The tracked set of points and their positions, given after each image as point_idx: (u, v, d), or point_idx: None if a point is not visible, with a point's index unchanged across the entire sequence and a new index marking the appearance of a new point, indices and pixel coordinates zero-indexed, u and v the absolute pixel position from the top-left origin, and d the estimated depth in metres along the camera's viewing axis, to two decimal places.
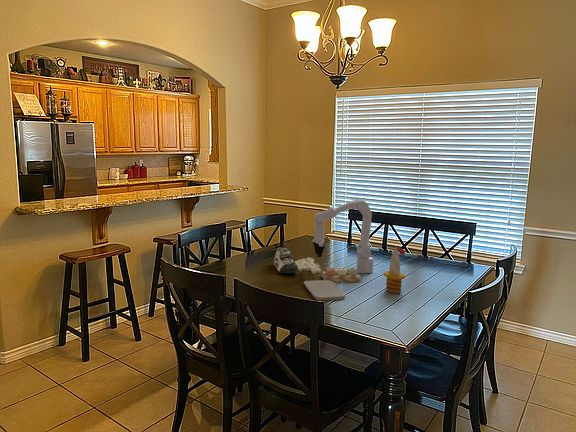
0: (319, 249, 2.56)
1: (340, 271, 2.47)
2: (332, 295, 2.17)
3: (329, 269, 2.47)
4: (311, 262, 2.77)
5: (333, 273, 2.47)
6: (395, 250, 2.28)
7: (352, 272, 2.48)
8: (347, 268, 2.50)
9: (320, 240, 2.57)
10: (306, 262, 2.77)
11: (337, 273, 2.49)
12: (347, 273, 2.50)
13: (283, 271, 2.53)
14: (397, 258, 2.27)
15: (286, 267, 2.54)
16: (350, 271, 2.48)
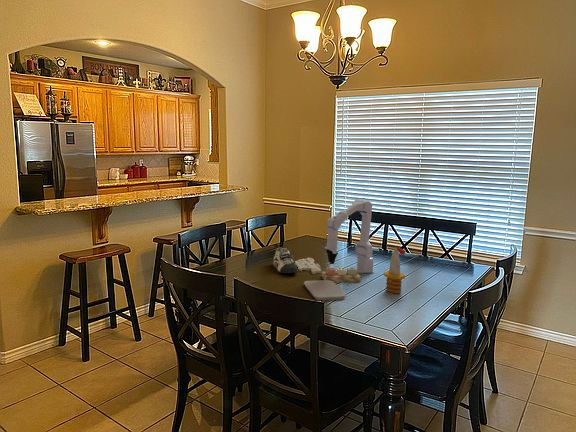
0: (332, 256, 2.45)
1: (340, 271, 2.47)
2: (332, 295, 2.17)
3: (329, 269, 2.47)
4: (311, 262, 2.77)
5: (333, 273, 2.47)
6: (395, 250, 2.28)
7: (352, 272, 2.48)
8: (347, 268, 2.50)
9: (333, 247, 2.44)
10: (306, 262, 2.77)
11: (337, 273, 2.49)
12: (347, 273, 2.50)
13: (283, 271, 2.54)
14: (397, 258, 2.27)
15: (286, 267, 2.54)
16: (350, 271, 2.48)
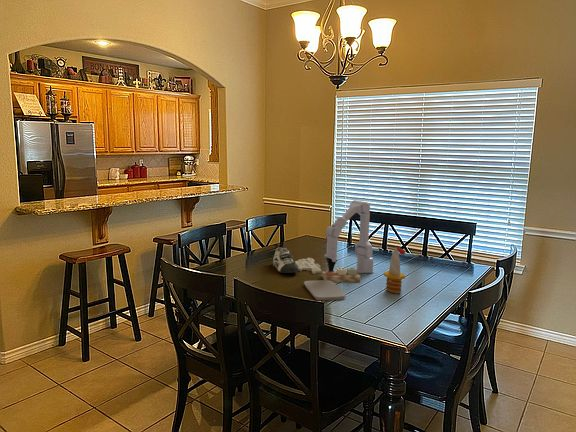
0: (331, 263, 2.47)
1: (340, 271, 2.47)
2: (332, 295, 2.17)
3: (329, 271, 2.47)
4: (311, 262, 2.77)
5: None
6: (395, 250, 2.28)
7: (352, 272, 2.48)
8: (347, 268, 2.50)
9: (333, 255, 2.44)
10: (306, 262, 2.77)
11: (337, 273, 2.49)
12: (347, 273, 2.50)
13: (284, 271, 2.54)
14: (397, 258, 2.27)
15: (287, 267, 2.54)
16: (350, 271, 2.48)
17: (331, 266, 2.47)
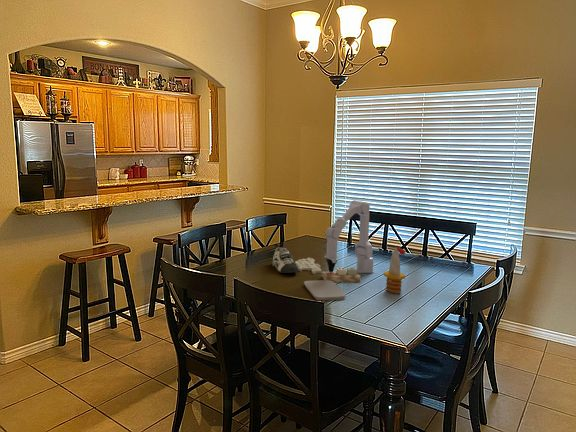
0: (331, 264, 2.47)
1: (340, 271, 2.47)
2: (332, 295, 2.17)
3: (329, 273, 2.48)
4: (311, 262, 2.77)
5: None
6: (395, 250, 2.28)
7: (352, 272, 2.48)
8: (347, 268, 2.50)
9: (333, 256, 2.44)
10: (306, 262, 2.77)
11: (337, 273, 2.49)
12: (347, 273, 2.50)
13: (284, 271, 2.54)
14: (397, 258, 2.27)
15: (287, 267, 2.55)
16: (350, 271, 2.48)
17: (331, 267, 2.47)
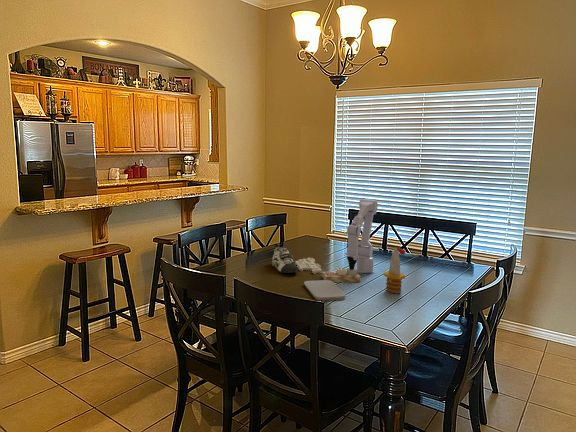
0: (352, 261, 2.48)
1: (340, 271, 2.47)
2: (332, 295, 2.17)
3: (329, 273, 2.48)
4: (312, 262, 2.77)
5: None
6: (395, 250, 2.28)
7: (351, 273, 2.48)
8: (347, 269, 2.51)
9: (354, 253, 2.46)
10: (307, 262, 2.77)
11: (337, 273, 2.49)
12: (347, 274, 2.50)
13: (285, 271, 2.54)
14: (397, 258, 2.27)
15: (287, 267, 2.55)
16: (350, 272, 2.48)
17: (352, 264, 2.49)
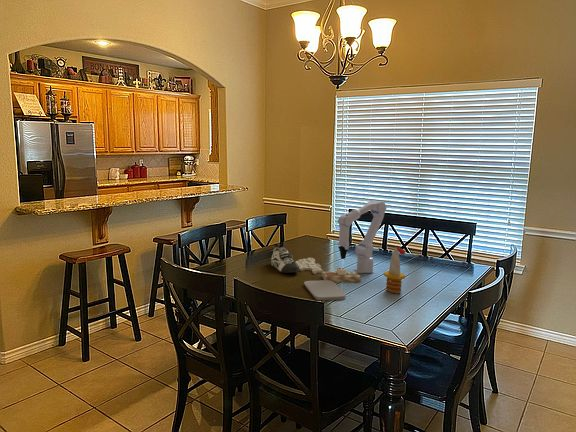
0: (343, 251, 2.55)
1: (340, 271, 2.47)
2: (332, 295, 2.17)
3: (329, 273, 2.48)
4: (312, 262, 2.77)
5: None
6: (395, 250, 2.28)
7: None
8: (347, 272, 2.51)
9: (345, 243, 2.53)
10: (307, 262, 2.77)
11: (337, 273, 2.49)
12: None
13: (285, 270, 2.55)
14: (397, 258, 2.27)
15: (288, 266, 2.55)
16: None
17: (343, 254, 2.56)
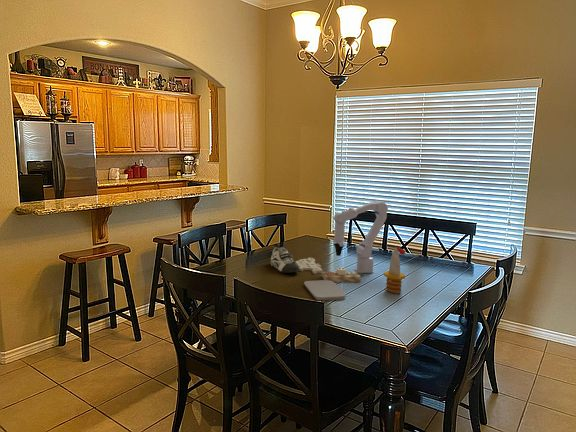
0: (338, 248, 2.60)
1: (340, 271, 2.47)
2: (332, 295, 2.17)
3: (329, 273, 2.48)
4: (312, 262, 2.77)
5: None
6: (395, 250, 2.28)
7: None
8: (347, 272, 2.51)
9: (340, 240, 2.57)
10: (307, 262, 2.77)
11: (337, 273, 2.49)
12: None
13: (286, 270, 2.55)
14: (397, 258, 2.27)
15: (288, 266, 2.56)
16: None
17: (338, 251, 2.60)
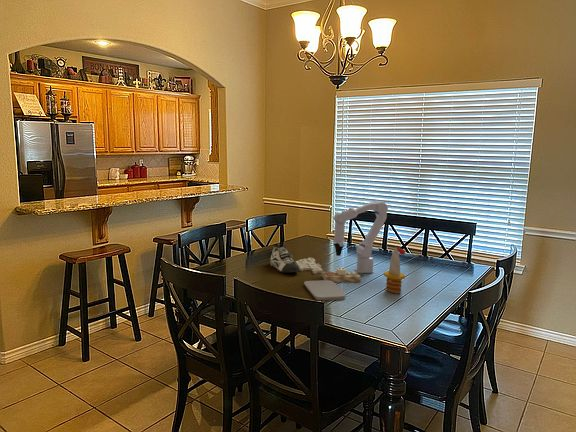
0: (338, 248, 2.60)
1: (340, 271, 2.47)
2: (332, 295, 2.17)
3: (329, 273, 2.48)
4: (312, 262, 2.77)
5: None
6: (395, 250, 2.28)
7: None
8: (347, 272, 2.51)
9: (340, 240, 2.57)
10: (307, 262, 2.77)
11: (337, 273, 2.49)
12: None
13: (286, 270, 2.55)
14: (397, 258, 2.27)
15: (289, 266, 2.56)
16: None
17: (338, 251, 2.60)
